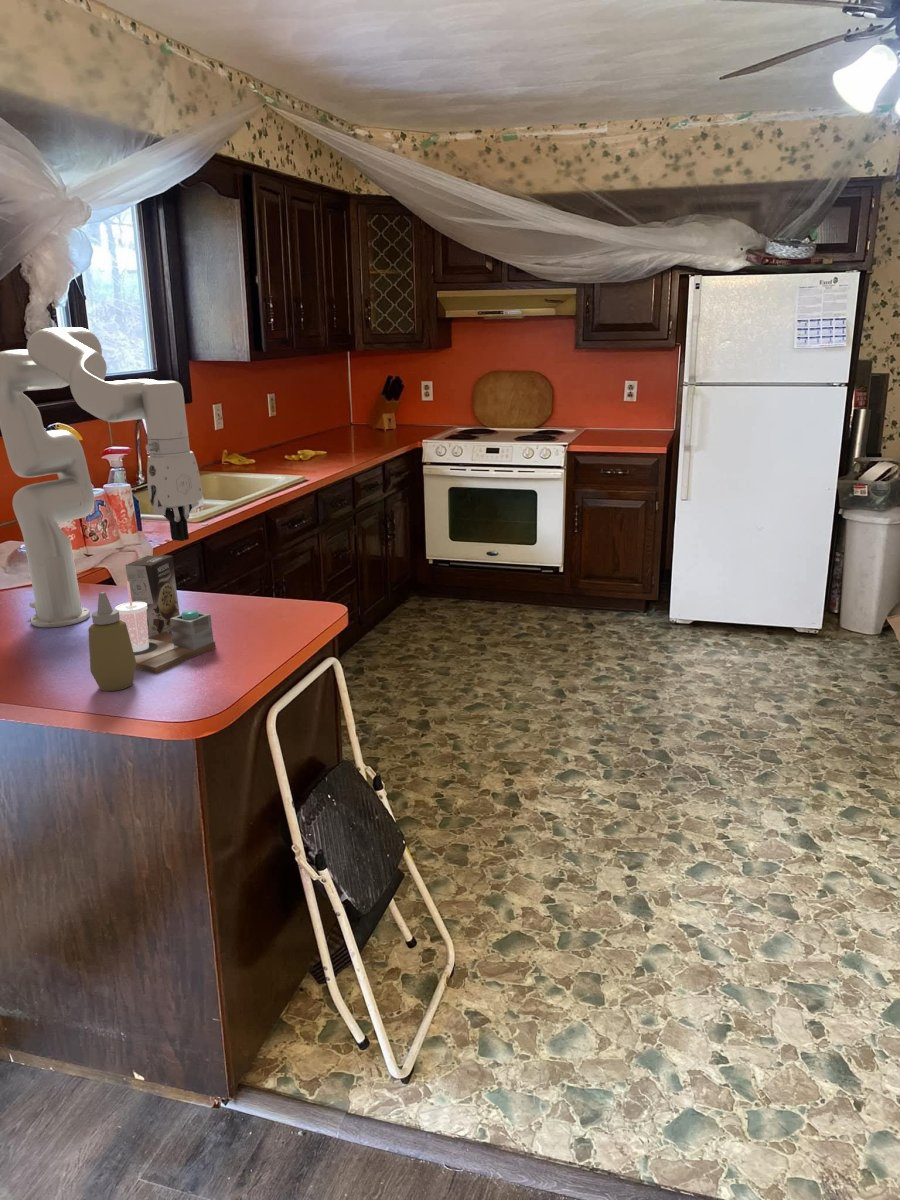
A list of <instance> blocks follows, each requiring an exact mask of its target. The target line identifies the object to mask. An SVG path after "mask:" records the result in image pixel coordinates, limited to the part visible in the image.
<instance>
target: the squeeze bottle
mask: <svg viewBox="0 0 900 1200" xmlns="http://www.w3.org/2000/svg"><path fill="white" fill-rule="evenodd" d="M97 600H98V601H97V610H96V611H94V612H92V613H91V620H92V624H91V625H90V626H89V627H88V647H89V649H88V650H89V667H90V668H89V669H90V673H91V675H92V677H93V678H94V680H95V682H96V684H97V686H98V687H99V689H100V690H102V691H106V692H111V691H112V692H113V691H119V690H123V689H126V688H129V687H131V686H132V685H133V683H134V677H135V674H136V673H135V672H136V670H137V669H136V660H135V656H134V652H133V648H132V644H131V641H130V637H129V633H128V629H127V625H126V623H125V622H123V621H122V620H120V616H119V611H118V610H117V609H115V608H112V604H111V602H110V600H109V597H108V595H107V593H106V592H104V591H102V592H99V593H98V599H97Z"/></svg>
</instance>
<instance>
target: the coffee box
mask: <svg viewBox="0 0 900 1200" xmlns="http://www.w3.org/2000/svg"><path fill="white" fill-rule="evenodd" d="M174 566H175V565H174V558H173V555H167V554H166V555H164V554H160V555H146V556H143V557H141V558H139V559H136V560H133V561H132V562H129V563H128V564H125V571H126V579H127V582H129V585H130V592H131V599H132V602H145V603H147V610H146V611H147V625H148V638H149V637H151V636H154V635H157V634H159V633H162V632H167V633H170V632H172V629H171V621H170V618H173V617H176V616H178V615H181V614H180V605H179V599H178V592H177V584H176V574H175V567H174ZM169 631H170V632H169Z"/></svg>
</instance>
